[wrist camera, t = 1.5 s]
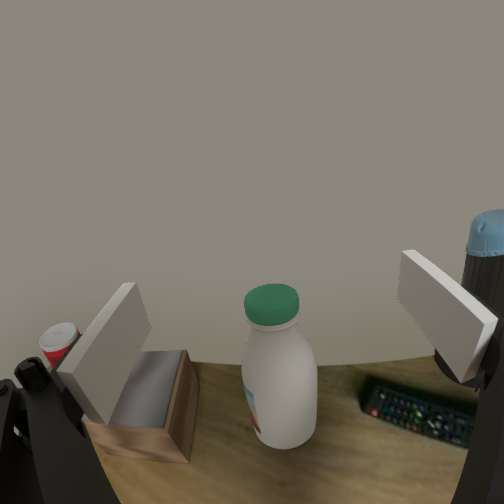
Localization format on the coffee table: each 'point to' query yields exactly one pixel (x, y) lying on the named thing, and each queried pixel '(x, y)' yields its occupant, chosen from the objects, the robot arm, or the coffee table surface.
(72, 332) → the canned food
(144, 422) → the riser
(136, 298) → the robot arm
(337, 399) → the coffee table surface
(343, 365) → the coffee table surface
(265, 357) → the milk bottle
